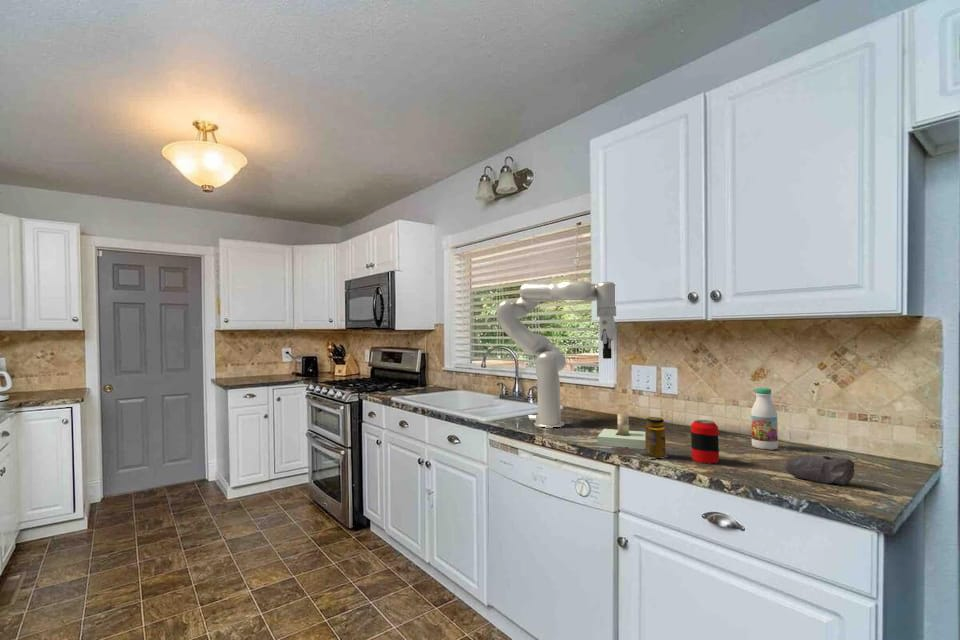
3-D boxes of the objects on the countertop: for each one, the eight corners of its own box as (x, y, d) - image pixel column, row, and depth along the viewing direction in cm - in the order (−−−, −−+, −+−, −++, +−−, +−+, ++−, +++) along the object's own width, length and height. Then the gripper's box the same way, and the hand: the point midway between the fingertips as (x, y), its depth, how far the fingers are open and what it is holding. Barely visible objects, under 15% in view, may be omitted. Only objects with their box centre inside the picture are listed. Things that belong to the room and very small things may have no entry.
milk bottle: (751, 443, 165) (750, 386, 165) (777, 446, 161) (776, 387, 161) (751, 448, 158) (749, 389, 159) (778, 451, 154) (776, 390, 155)
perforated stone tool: (783, 478, 127) (782, 452, 127) (786, 473, 131) (786, 448, 131) (854, 490, 117) (853, 462, 117) (855, 485, 121) (854, 457, 121)
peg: (617, 443, 168) (616, 415, 168) (618, 440, 171) (618, 413, 172) (628, 444, 166) (628, 415, 166) (629, 441, 170) (629, 414, 170)
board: (597, 445, 166) (597, 436, 166) (604, 436, 178) (603, 428, 178) (645, 449, 159) (645, 440, 159) (648, 440, 172) (648, 432, 172)
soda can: (686, 459, 147) (685, 420, 147) (704, 456, 149) (703, 418, 150) (705, 465, 140) (704, 424, 140) (724, 462, 142) (723, 422, 143)
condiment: (671, 457, 149) (671, 419, 149) (652, 460, 145) (651, 421, 146) (654, 452, 156) (653, 415, 156) (634, 455, 152) (634, 417, 152)
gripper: (613, 312, 181) (614, 359, 181) (618, 313, 195) (619, 357, 194) (593, 312, 184) (594, 359, 184) (600, 313, 198) (600, 357, 197)
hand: (607, 358), depth 189 cm, fingers closed
